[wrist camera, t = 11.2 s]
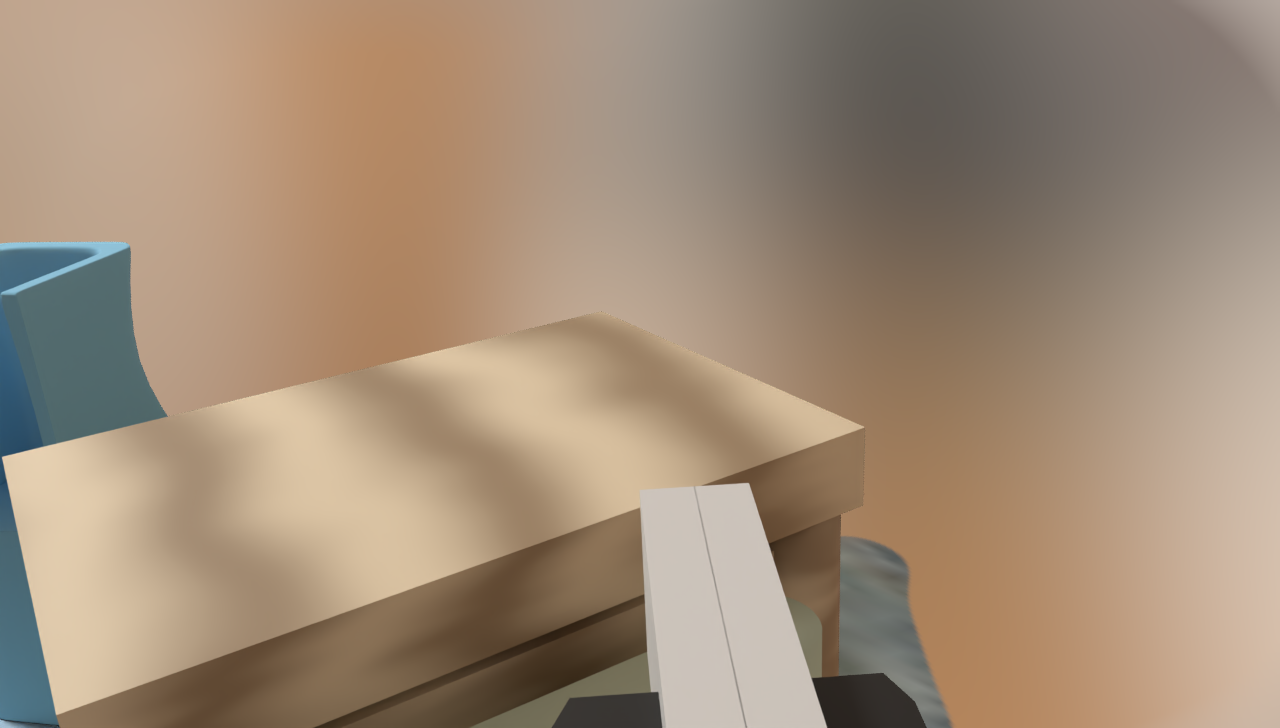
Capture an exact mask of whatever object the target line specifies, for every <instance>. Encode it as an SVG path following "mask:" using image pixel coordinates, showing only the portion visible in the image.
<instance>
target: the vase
mask: <svg viewBox="0 0 1280 728" xmlns="http://www.w3.org/2000/svg"><path fill="white" fill-rule="evenodd" d="M130 257H131V251H130V246H129V244H127V243H124V242H22V243H21V242H20V243H3V244H0V719H5V720H12V721H21V722H31V723H41V724H52V725H59V723H58V719H57V716H56V712H55V707H54V702H53V697H52V693H51V688H50V683H49V678H48V674H47V669H46V664H45V659H44V655H43V650H42V645H41V640H40V636H39V631H38V626H37V621H36V617H35V612H34V607H33V602H32V598H31V593H30V588H29V583H28V578H27V574H26V569H25V564H24V559H23V555H22V550H21V545H20V540H19V536H18V531H17V526H16V521H15V517H14V512H13V507H12V502H11V498H10V493H9V488H8V483H7V479H6V474H5V469H4V464H3V460H2V457H4V456H8V455H12V454H16V453H20V452H24V451H28V450H32V449H37V448H41V447H45V446H49V445H53V444H57V443H61V442H65V441H70V440H74V439H78V438H82V437H86V436H90V435H94V434H98V433H102V432H107V431H111V430H115V429H119V428H123V427H127V426H131V425H135V424H140V423H144V422H148V421H152V420H156V419H160V418H164V417H168V416H167V414H166V413H165V412H164V410H163V408H162V407H161V405H160V403H159V402H158V400H157V398H156V396H155V394H154V392H153V390H152V389H151V387H150V385H149V382H148V380H147V377H146V375H145V372H144V370H143V367H142V365H141V362H140V359H139V355H138V350H137V346H136V341H135V337H134V330H133V321H132V311H131V290H130V263H131V258H130Z"/></svg>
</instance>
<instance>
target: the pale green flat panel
mask: <svg viewBox="0 0 1280 728" xmlns="http://www.w3.org/2000/svg"><path fill="white" fill-rule="evenodd" d="M786 601H787V604H788V607H789V610H790V613H791V616H792V619H793V622H794V626H795V629H796V632H797V635H798V638H799V641H800V644H801V647H802V651H803V654H804V657H805V660H806V663H807V666H808V669H809V673H810V676H811V678H819V677H822V625H821V622H820V620H819V618H818V616H817V615H816V614H815V613H814V612H813V611H812V610H811V609H810V608H809V607H807V606H806V605H804V604H803V603H801V602H799V601H796V600H794V599H791V598H789V597H786ZM647 692H651V687H650V677H649V666H648V655H647V652H645V653H643V654H640V655H638V656H636V657H633V658H631V659H629V660H626V661H624V662H622V663H619V664H617V665H615V666H612V667H610V668H608V669H605V670H603V671H601V672H598V673H596V674H594V675H591V676H589V677H587V678H584V679H582V680H580V681H577V682H575V683H573V684H570V685H568V686H566V687H563V688H561V689H559V690H556V691H554V692H552V693H549V694H547V695H545V696H542V697H540V698H538V699H535V700H533V701H531V702H528V703H526V704H523V705H521V706H519V707H516V708H514V709H512V710H509V711H507V712H505V713H502V714H500V715H498V716H495V717H493V718H491V719H488V720H486V721H484V722H481V723H479V724H477V725H474V726H472V727H470V728H552V726H553V725H554V723H555V721H556V720H557V718H558V716H559V715H560V713H561V711H562V710H563V708H564V706H565V705H566V703H567V701H568V700H569V698H576V697H590V696H604V695H619V694H633V693H647Z"/></svg>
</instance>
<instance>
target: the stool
mask: <svg viewBox="0 0 1280 728" xmlns="http://www.w3.org/2000/svg"><path fill="white" fill-rule="evenodd" d="M864 449H865V427H863V426H861V425H858V424H856V423H854V422H852V421H849V420H847V419H845V418H843V417H840V416H838V415H836V414H834V413H831V412H829V411H827V410H824V409H822V408H820V407H818V406H815V405H813V404H811V403H808V402H806V401H804V400H802V399H799V398H797V397H795V396H793V395H790V394H788V393H786V392H784V391H781V390H779V389H777V388H774V387H772V386H770V385H768V384H765V383H763V382H761V381H759V380H756V379H754V378H752V377H749V376H747V375H745V374H743V373H740V372H738V371H736V370H733V369H731V368H729V367H727V366H724V365H722V364H720V363H718V362H715V361H713V360H711V359H708V358H706V357H704V356H702V355H699V354H697V353H695V352H693V351H690V350H688V349H686V348H684V347H681V346H679V345H677V344H675V343H672V342H670V341H667V340H665V339H663V338H661V337H658V336H656V335H654V334H652V333H650V332H647V331H645V330H643V329H640V328H638V327H636V326H634V325H631V324H629V323H627V322H624V321H622V320H620V319H618V318H615V317H613V316H611V315H608V314H606V313H604V312H602V311H601V312H597V313H593V314H589V315H584V316H580V317H576V318H572V319H568V320H564V321H560V322H556V323H552V324H547V325H543V326H539V327H535V328H531V329H527V330H523V331H519V332H514V333H510V334H506V335H502V336H498V337H494V338H490V339H486V340H481V341H478V342H474V343H469V344H465V345H461V346H457V347H453V348H448V349H444V350H440V351H437V352H432V353H428V354H424V355H420V356H416V357H412V358H407V359H403V360H399V361H395V362H391V363H387V364H383V365H379V366H375V367H371V368H366V369H362V370H358V371H354V372H350V373H346V374H341V375H337V376H333V377H329V378H325V379H321V380H317V381H313V382H309V383H305V384H300V385H296V386H292V387H288V388H284V389H280V390H276V391H271V392H267V393H264V394H259V395H255V396H251V397H247V398H243V399H239V400H234V401H231V402H226V403H222V404H218V405H214V406H210V407H205V408H201V409H197V410H193V411H189V412H185V413H181V414H177V415H173V416H169V417H164V418H160V419H156V420H152V421H148V422H144V423H140V424H135V425H131V426H127V427H123V428H119V429H115V430H111V431H107V432H102V433H98V434H94V435H90V436H86V437H82V438H78V439H74V440H70V441H65V442H61V443H57V444H53V445H49V446H45V447H41V448H37V449H32V450H28V451H24V452H20V453H16V454H12V455H8V456H4V457H2V460H3V464H4V469H5V474H6V479H7V483H8V488H9V493H10V498H11V502H12V507H13V512H14V517H15V521H16V526H17V531H18V536H19V540H20V545H21V550H22V555H23V559H24V564H25V569H26V574H27V578H28V583H29V588H30V593H31V598H32V602H33V607H34V612H35V617H36V621H37V626H38V631H39V636H40V640H41V645H42V650H43V655H44V659H45V664H46V669H47V674H48V678H49V683H50V688H51V693H52V697H53V702H54V707H55V712H56V716H57V719H58V723H59V726H60V728H470V727H472V726H474V725H477V724H479V723H481V722H484V721H486V720H488V719H491V718H493V717H495V716H498V715H500V714H502V713H505V712H507V711H509V710H512V709H514V708H516V707H519V706H521V705H523V704H526V703H528V702H531V701H533V700H535V699H538V698H540V697H542V696H545V695H547V694H549V693H552V692H554V691H556V690H559V689H561V688H563V687H566V686H568V685H570V684H573V683H575V682H577V681H580V680H582V679H584V678H587V677H589V676H591V675H594V674H596V673H598V672H601V671H603V670H605V669H608V668H610V667H612V666H615V665H617V664H619V663H622V662H624V661H626V660H629V659H631V658H633V657H636V656H638V655H640V654H643V653H645V652H647V634H646V614H645V593H644V573H643V552H642V532H641V511H640V490H645V489H661V488H677V487H693V486H708V485H724V484H740V483H749V485H750V488H751V491H752V494H753V497H754V500H755V504H756V507H757V510H758V513H759V516H760V519H761V522H762V525H763V529H764V532H765V535H766V538H767V541H768V544H769V547H770V550H771V554H772V557H773V560H774V563H775V566H776V569H777V572H778V576H779V579H780V582H781V585H782V588H783V591H784V594H785V597H789V598H791V599H794V600H796V601H799V602H801V603H803V604H804V605H806V606H807V607H809V608H810V609H811V610H812V611H813V612H814V613H815V614H816V615H817V616H818V618H819V620H820V622H821V625H822V677H833V676H839V604H840V530H841V514H843V513H846V512H848V511H851V510H853V509H855V508H858V507H861V506H863V496H864V451H865V450H864Z"/></svg>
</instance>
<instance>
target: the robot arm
mask: <svg viewBox="0 0 1280 728" xmlns="http://www.w3.org/2000/svg"><path fill="white" fill-rule="evenodd" d="M640 511H641V532H642V552H643V573H644V593H645V614H646V634H647V655H648V666H649V677H650V687H651V692H647V693H633V694H619V695H604V696H590V697H576V698H569V700H568V701H567V703H566V705H565V706H564V708H563V710H562V711H561V713H560V715H559V716H558V718H557V720H556V721H555V723H554V725H553V726H552V728H926V726H925V723H924V721H923V719H922V717H921V714H920V712H919V710H918V708H917V705H916V703H915V701H913V700H912V699H911V698H910V697H909V696H908V695H907V694H906V693H905V692H904V691H902V690H901V689H900V688H899V687H898V686H897V685H896V684H895V683H894V682H892V681H891V680H890V679H889V678H888V677H887V676H886V675H885V674H884V673H876V674H862V675H848V676H833V677H819V678H811V676H810V673H809V669H808V666H807V663H806V660H805V657H804V654H803V651H802V647H801V644H800V641H799V638H798V635H797V632H796V629H795V626H794V622H793V619H792V616H791V613H790V610H789V607H788V604H787V601H786V597H785V594H784V591H783V588H782V585H781V582H780V579H779V576H778V572H777V569H776V566H775V563H774V560H773V557H772V554H771V550H770V547H769V544H768V541H767V538H766V535H765V532H764V529H763V525H762V522H761V519H760V516H759V513H758V510H757V507H756V504H755V500H754V497H753V494H752V491H751V488H750V485H749V483H740V484H724V485H708V486H693V487H677V488H661V489H645V490H640Z"/></svg>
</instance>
